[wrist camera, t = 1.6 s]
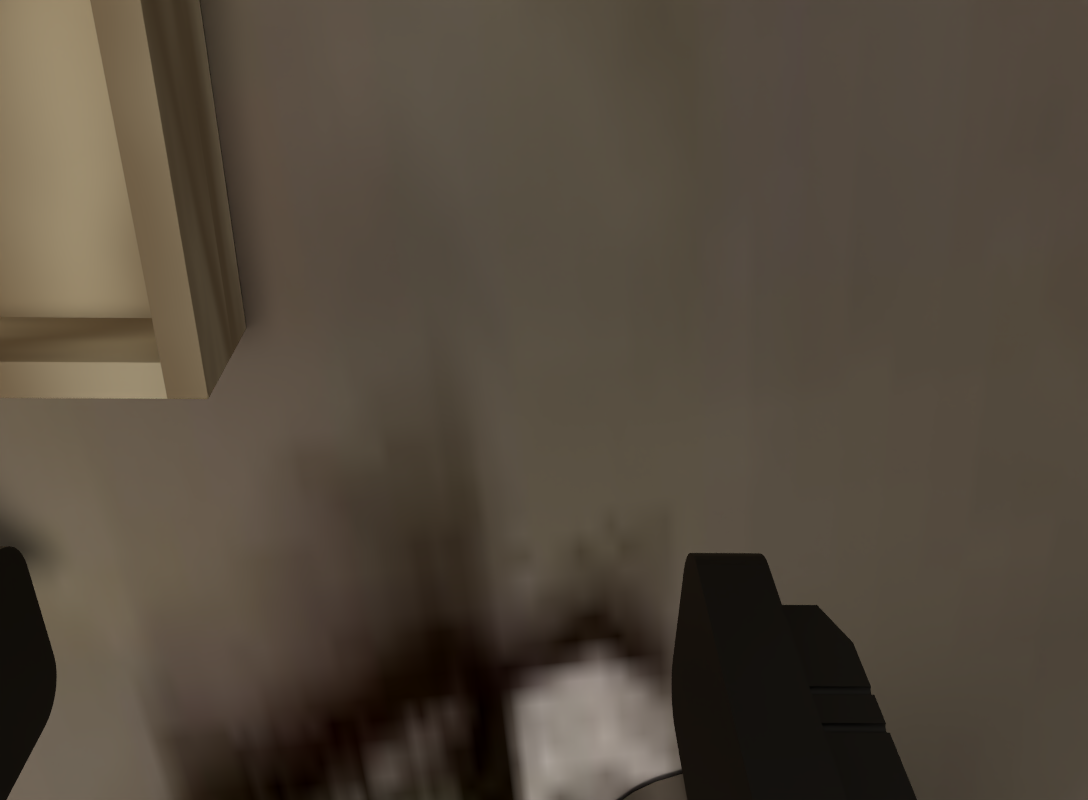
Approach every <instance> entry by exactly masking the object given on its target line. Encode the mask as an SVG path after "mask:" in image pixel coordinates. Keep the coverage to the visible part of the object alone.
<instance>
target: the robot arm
mask: <svg viewBox="0 0 1088 800" xmlns="http://www.w3.org/2000/svg"><path fill="white" fill-rule="evenodd" d="M56 678H57V677H56V663H55V658H54V654H53V651H52V647H51V644H50V641H49V637H48V634H47V631H46V627H45V624H44V621H43V617H42V614H41V610H40V607H39V604H38V600H37V597H36V594H35V590H34V587H33V584H32V580H31V577H30V573H29V570H28V567H27V564H26V561H25V559H24V557H23V555H22V554H21V553H20V551H19V550H17V549H16V548H14V547H10V546H0V800H6V799H7V798H8V796H9V794H10V792H11V790H12V788H13V786H14V784H15V782H16V780H17V778H18V777H19V775H20V773H21V771H22V769H23V767H24V765H25V763H26V761H27V759H28V758H29V756H30V754H31V752H32V750H33V748H34V746H35V744H36V742H37V740H38V738H39V737H40V735H41V733H42V731H43V729H44V727H45V725H46V723H47V721H48V718H49V716H50V713H51V710H52V706H53V702H54V697H55V691H56ZM870 688H871V686H870V683H869V681H868V678H867V676H866V674H865V671H864V669H863V666H862V664H861V661H860V659H859V656H858V654H857V651H856V649H855V647H854V644H853V642H852V641H851V640H850V639H849V638H848V637H847V636H846V635H845V634H844V633H843V632H842V631H841V630H840V629H839V628H838V627H837V626H836V625H835V624H834V622H833V621H832V620H831V619H830V618H829V617H828V616H827V615H826V614H825V613H824V612H823V611H822V610H821V609H820V608H819V607H818V606H817V605H782V604H781V601H780V598H779V595H778V592H777V589H776V586H775V583H774V580H773V577H772V574H771V571H770V568H769V566H768V563H767V560H766V559H765V557H764V556H763V555H762V554H759V553H689V554H688V556H687V559H686V562H685V567H684V574H683V582H682V590H681V599H680V607H679V615H678V623H677V631H676V639H675V647H674V655H673V664H672V707H673V718H674V726H675V732H676V738H677V743H678V749H679V755H680V761H681V767H682V772H683V774H680V775H677V776H673V777H670V778H667V779H663V780H660V781H656V782H654V783H652V784H650V785H648V786H646V787H643V788H641V789H639V790H637V791H635V792H633V793H632V794H630V795H629V796H627V797H626V798H625V799H623V800H917V799H916V796H915V794H914V791H913V789H912V786H911V784H910V782H909V779H908V777H907V774H906V772H905V769H904V767H903V764H902V762H901V759H900V757H899V755H898V752H897V750H896V747H895V745H894V742H893V740H892V737H891V735H890V733H887V732H886V728H885V724H886V723H885V720H884V718H883V715H882V713H881V710H880V708H879V705H878V703H877V701H876V698H875V696H874V695H871V691H870Z"/></svg>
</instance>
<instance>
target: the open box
mask: <svg viewBox="0 0 1088 800" xmlns="http://www.w3.org/2000/svg"><path fill="white" fill-rule="evenodd" d="M245 330H246V323H245V316H244V309H243V302H242V295H241V288H240V281H239V274H238V267H237V260H236V253H235V246H234V239H233V232H232V225H231V218H230V211H229V204H228V197H227V190H226V183H225V176H224V169H223V162H222V155H221V148H220V141H219V134H218V127H217V120H216V113H215V106H214V99H213V92H212V85H211V78H210V71H209V64H208V57H207V50H206V43H205V36H204V29H203V22H202V15H201V8H200V1H199V0H0V398H140V399H208V398H209V397H210V395H211V393H212V391H213V389H214V387H215V385H216V384H217V382H218V380H219V378H220V376H221V374H222V372H223V371H224V369H225V367H226V365H227V363H228V361H229V359H230V358H231V356H232V354H233V352H234V350H235V348H236V346H237V345H238V343H239V341H240V339H241V337H242V335H243V333H244V331H245Z"/></svg>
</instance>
